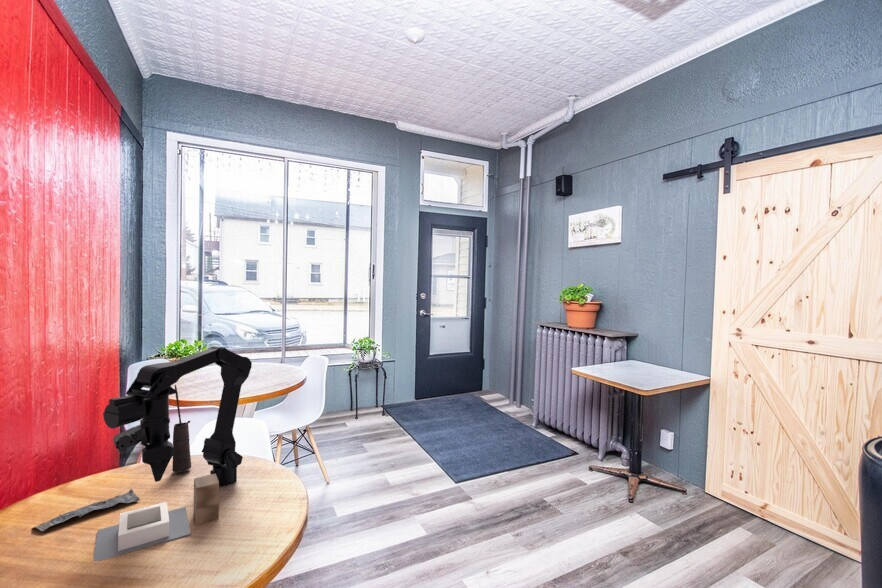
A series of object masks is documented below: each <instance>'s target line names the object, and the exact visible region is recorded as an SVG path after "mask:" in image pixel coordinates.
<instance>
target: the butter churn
mask: <svg viewBox="0 0 882 588" xmlns="http://www.w3.org/2000/svg"><path fill="white" fill-rule="evenodd" d="M174 389H175V390H177V393H175V398H176V399H175V400H176V406H177V413H178V414H177V415H178V422H177V423H175V424H173V435H172V444H173V448H174V455H173V456H172V466H171V470H172V472H173V473H182V472H185V471H188V470H190V469H191V468H192V459H191V447H190V446H191V445H190V430H189V424H190V423H191V420H188V421H187V422H182V418H181V417H182V416H181V411H180V410H181V409H180V401H179V394H178V388H177V385H176V384H174Z"/></svg>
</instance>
